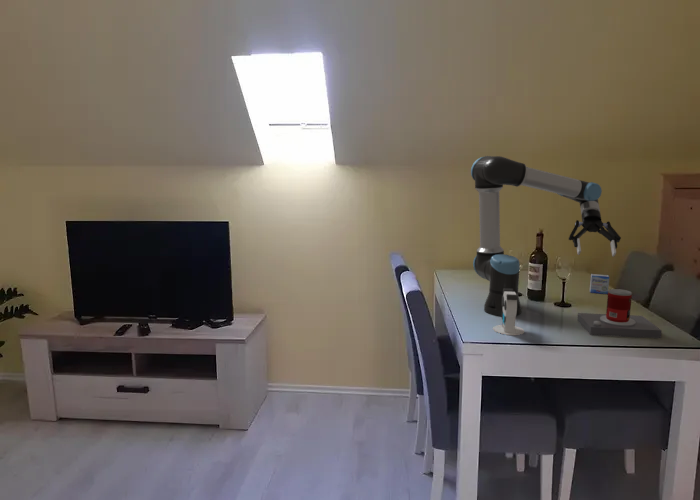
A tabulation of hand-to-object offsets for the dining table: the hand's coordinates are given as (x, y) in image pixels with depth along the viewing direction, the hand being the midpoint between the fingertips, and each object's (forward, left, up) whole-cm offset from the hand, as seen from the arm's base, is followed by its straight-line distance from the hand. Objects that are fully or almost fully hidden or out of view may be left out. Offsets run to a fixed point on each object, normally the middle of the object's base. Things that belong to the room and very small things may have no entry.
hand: (596, 253), depth 217 cm
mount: (+3, -22, -25) cm, 33 cm away
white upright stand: (-38, -30, -25) cm, 55 cm away
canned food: (+3, -22, -21) cm, 31 cm away
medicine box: (+13, +35, -25) cm, 45 cm away
